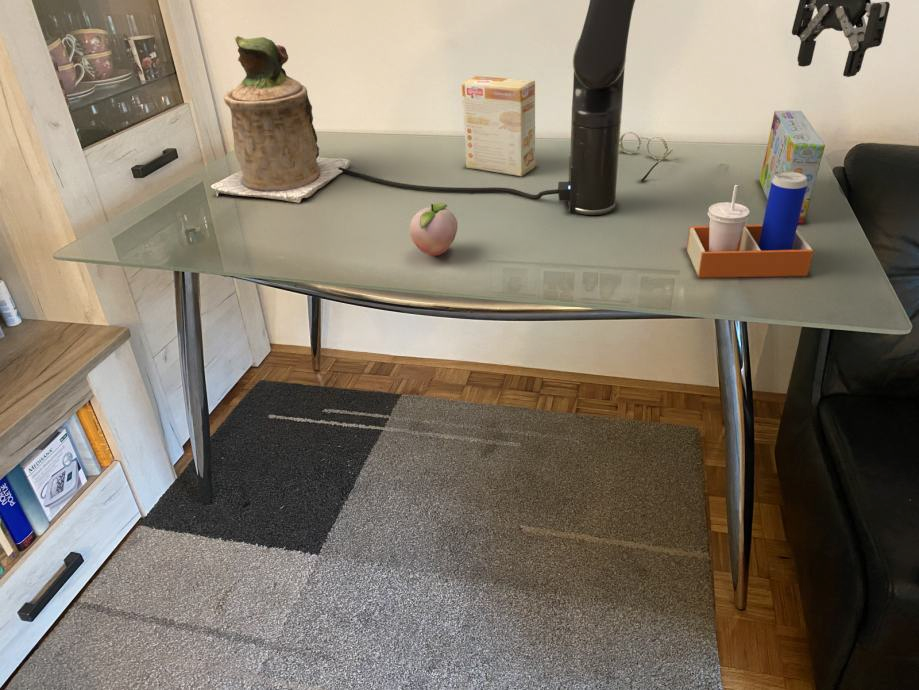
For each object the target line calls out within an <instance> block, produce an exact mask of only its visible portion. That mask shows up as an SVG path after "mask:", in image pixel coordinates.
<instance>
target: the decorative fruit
mask: <svg viewBox="0 0 919 690" xmlns="http://www.w3.org/2000/svg"><path fill="white" fill-rule="evenodd" d="M447 207H448V205H447V204H446V203H444V202H435V203H431V204H430V206H429V207H424V208H422V209H420V210H419V211H417V213H415V215H414V216H413V217H412V219H411V221H410V224H409V235H410V239H411V241H412V243H413V244H414V245H415V246H416V247H417V248H418V249H419V251H420V252H422V253H424V254H426V255H429V256H439V255H440V256H441V255H443V254H444V253H445V252H446V251H448V249H449V248H450V247H451V245H452V244H453V242H454V241H455V238H456V236H457V232H458V227H459V225H458V224H459V223H458V219H457V217H456V216H455V215H454V213H453V212H452V211H451V210H450V209H447Z"/></svg>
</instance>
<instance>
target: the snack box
mask: <svg viewBox="0 0 919 690" xmlns="http://www.w3.org/2000/svg"><path fill="white" fill-rule="evenodd" d="M825 148H826V144H825V142H824V141H823V140H822V138H821V137H820V136H819V134H818V132H817V131H816V129H815V128H814V126H812V124H811V123H810V121H809V120H808V118H807V117H806V115H805V114H804V112H803V111H802V110H774V113H773V118H772V122H771V127H770V131H769V136H768V141H767V146H766V150H765V155H764V159H763V160H764V161H763V164H762V169H761V173H760V177H759V183H760V185H761V188H762V190H763V192H764V193H763V194H765V197H766V201H768V197H769V192H770V187H771V182H772V180H773V178H774V176H775V175H776V174H777V173H779V172H785V171H791V172H797V173H801V174H803V175H805V176H806V178H807V188H806V192H805V196H804V200H803V204H802V209H801V213H800V217H799V221H798V224H805V220H806V216H807V214H808V209H809V205H810V201H811V198H812V194H813V191H814V188H815V185H816V184H815V183H816V180H817V177H818V173H819V169H820V166H821V162H822V158H823V154H824V151H825Z"/></svg>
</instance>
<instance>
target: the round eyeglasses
mask: <svg viewBox="0 0 919 690" xmlns="http://www.w3.org/2000/svg"><path fill="white" fill-rule="evenodd" d="M628 134H631V135H634V136H635V137H636V138H637V141H638V142H639V143H638V146H637V147H636V148H637V149H636V150H635V151H634V152H631V151H628V150H627V149H626V148H625V147H624V144H623V138H624V137H625V135H628ZM641 139H642V140H643V139H644V140H647V143H646V150H647V153H648V155H649V156H650V157H651V158H653V159H654V160H658V161H657V162H655V164H653V166H651V168H650V169H649V171H647V173H646V174H645V175H644V176H643V177H642V178H641V180H640V182H644V181H645V180H646V178H647V177H648V176H649V175H650V174H651V172H652V171H653V169H654V168H655V167H656V166H657V165H658V164H660V163H661V162H662V161H663V160H664V159H666V158H667V157H668V156H669V155H670V154H671V153H672V152H673V148H669V147H668V142H666V140H665V139H664V138H663V137H660V136H654V137H652V138H651V139H649V138H648V137H643V136H640V137H639V135H638V134H637V133H635V132H632V131H628V132H625V133H623V134H622V135H620V143H619V149H620V151H622V152H624V153H625V154H629V155H632V154H635V153H637V152H638V151H639V150H640V148H641V144H642V141H641ZM652 139H658V140H660V141H661V142H662V144H663V147H664V149H665V152H664V153H663V155H662V156H661V157H656V156H654V155H653V154H652V153H651V152H650V149H649V145H650V142H651V141H652Z"/></svg>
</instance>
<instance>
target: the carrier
mask: <svg viewBox="0 0 919 690" xmlns="http://www.w3.org/2000/svg"><path fill="white" fill-rule="evenodd" d="M762 226H763V224H745V225H744V229H743V231H742V234H741V237H740V240H739V243H738V246H737V249H736V251H716V252H709V225H697V226H696V225H693V226H689V230H688V236H687V244H686V249H685V250H686V252H687V255H688V256H689V259H690V261H691V264H692V265H693V268H694V270H695V272H696V275H697V277H698V279H699V278H702V279H704V278H757V277H758V278H760V277H765V278H766V277H807V276H809V275H808V274H809V270H810V267H811V263H812V260H813V259H812V258H813V255H814V250H813V248H812V247H811V245H810V244H809V243H808V242H807V241H806V239H805V237H803V236H802V234H801V233H800V231H799V230H798V229H797V230H796V234H795V238H794V242H793V246H792V250H766V251H761V250H760V248H759V247H758V245H759V240H760V235H761V230H762Z"/></svg>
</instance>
